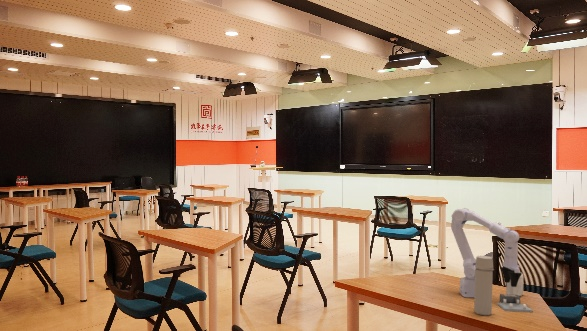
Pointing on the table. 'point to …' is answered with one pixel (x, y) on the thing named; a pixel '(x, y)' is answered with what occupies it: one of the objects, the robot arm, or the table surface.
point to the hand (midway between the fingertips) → (510, 284)
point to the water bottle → (483, 285)
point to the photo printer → (518, 289)
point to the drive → (509, 298)
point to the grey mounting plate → (514, 306)
